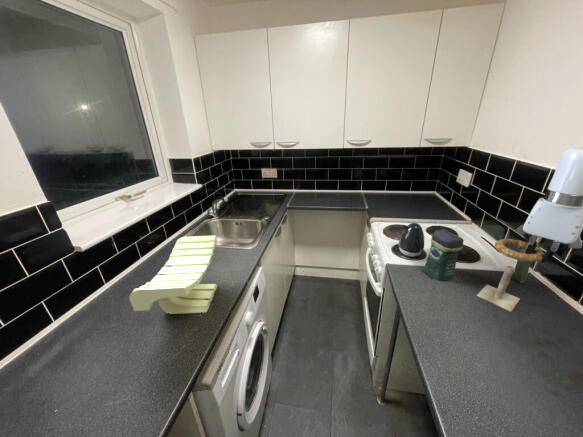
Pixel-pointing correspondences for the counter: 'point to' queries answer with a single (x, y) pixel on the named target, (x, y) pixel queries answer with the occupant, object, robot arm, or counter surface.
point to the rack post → (501, 292)
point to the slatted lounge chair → (180, 279)
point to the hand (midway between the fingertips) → (536, 257)
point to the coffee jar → (443, 255)
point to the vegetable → (523, 266)
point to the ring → (534, 257)
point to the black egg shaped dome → (412, 240)
